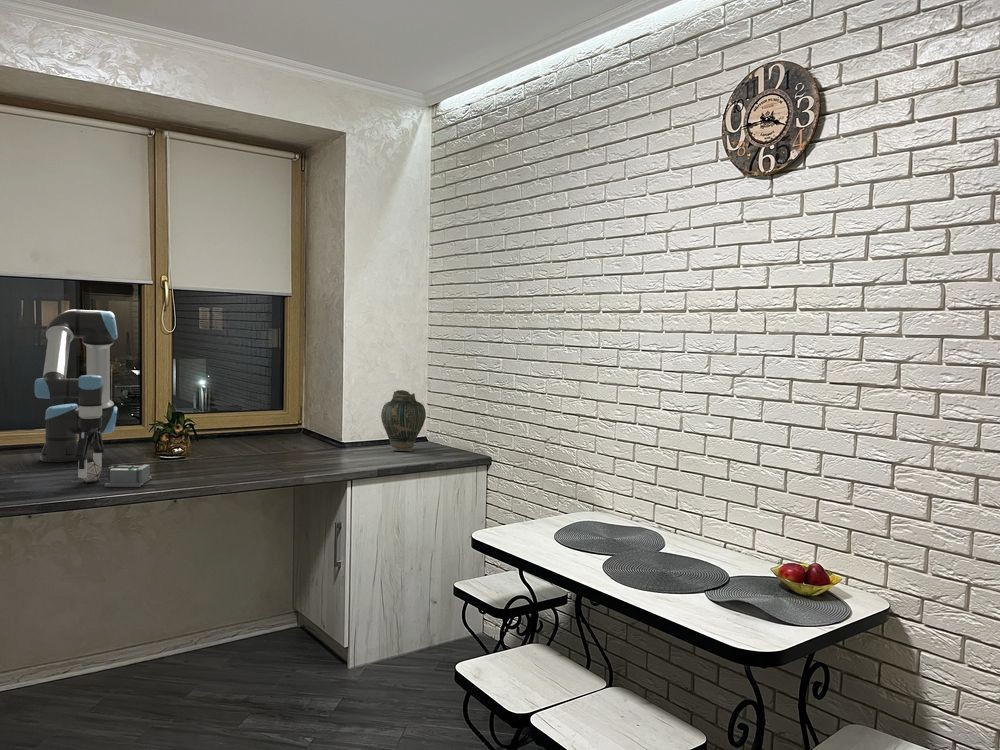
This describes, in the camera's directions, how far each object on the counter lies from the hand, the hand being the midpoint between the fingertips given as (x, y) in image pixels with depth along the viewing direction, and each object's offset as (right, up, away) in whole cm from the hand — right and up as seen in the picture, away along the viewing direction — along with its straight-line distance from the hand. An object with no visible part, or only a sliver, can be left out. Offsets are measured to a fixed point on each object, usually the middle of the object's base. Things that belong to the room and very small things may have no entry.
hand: (90, 473), depth 268 cm
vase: (+103, -1, +94) cm, 140 cm away
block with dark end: (+11, -2, +1) cm, 12 cm away
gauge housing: (+13, -4, +2) cm, 14 cm away
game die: (0, -3, 0) cm, 3 cm away
